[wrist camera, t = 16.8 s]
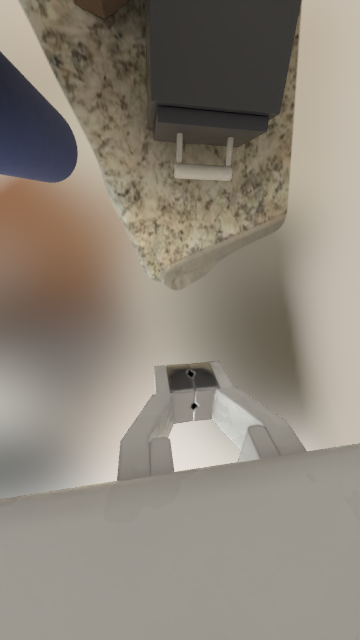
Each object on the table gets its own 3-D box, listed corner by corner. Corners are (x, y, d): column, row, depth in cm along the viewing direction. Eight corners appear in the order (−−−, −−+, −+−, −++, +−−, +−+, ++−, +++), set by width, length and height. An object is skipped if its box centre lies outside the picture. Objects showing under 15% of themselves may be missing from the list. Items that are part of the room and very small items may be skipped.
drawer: (233, 183, 32) (258, 179, 25) (154, 179, 30) (158, 174, 23) (258, -15, 23) (307, -102, 16) (149, -36, 21) (153, -144, 15)
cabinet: (241, 137, 30) (279, 114, 22) (148, 129, 28) (151, 101, 20) (264, -42, 23) (335, -179, 14) (142, -68, 21) (143, -244, 13)
